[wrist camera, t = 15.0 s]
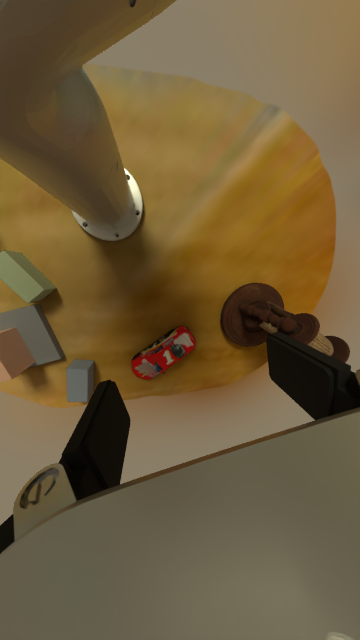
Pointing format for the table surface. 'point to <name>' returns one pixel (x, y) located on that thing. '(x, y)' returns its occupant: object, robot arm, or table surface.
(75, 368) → the slate brick
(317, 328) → the brown tall round-based stand
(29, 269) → the olive brick
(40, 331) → the charcoal mat
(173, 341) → the race car
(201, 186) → the table surface
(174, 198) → the table surface
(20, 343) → the terracotta brick
